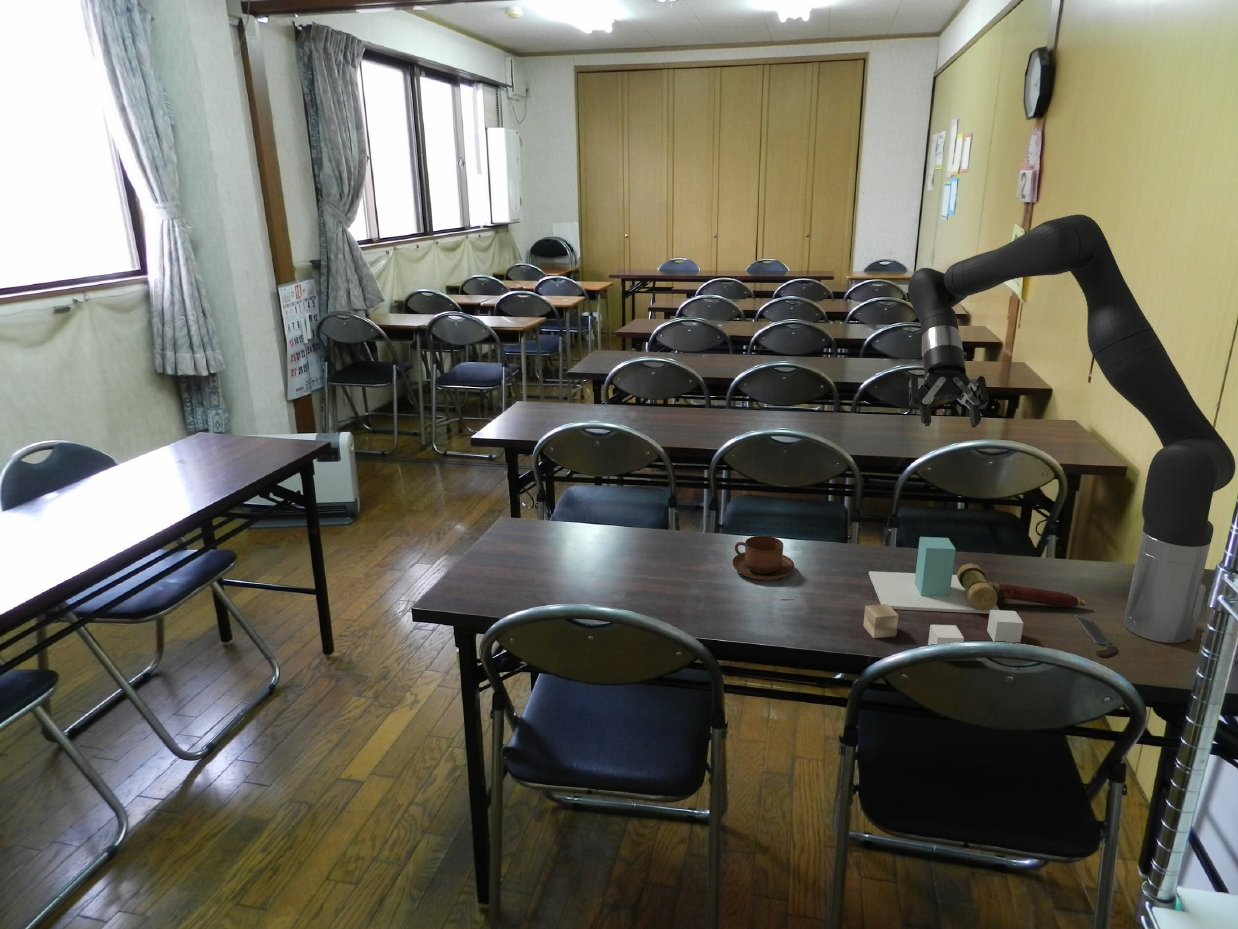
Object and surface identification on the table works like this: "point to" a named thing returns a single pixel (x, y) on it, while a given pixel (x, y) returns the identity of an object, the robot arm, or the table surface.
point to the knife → (1097, 637)
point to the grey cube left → (1005, 626)
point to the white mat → (906, 596)
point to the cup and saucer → (762, 559)
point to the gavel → (1007, 591)
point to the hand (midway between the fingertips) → (951, 425)
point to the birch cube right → (880, 620)
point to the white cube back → (944, 634)
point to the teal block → (934, 566)
